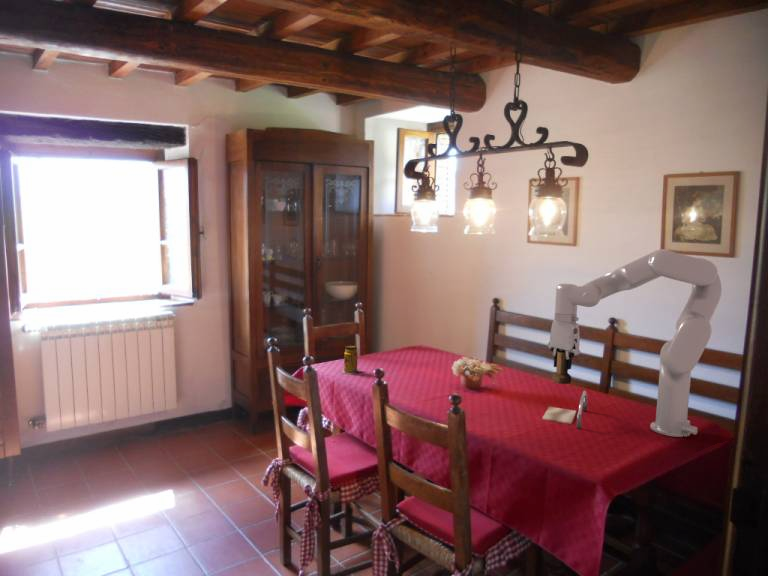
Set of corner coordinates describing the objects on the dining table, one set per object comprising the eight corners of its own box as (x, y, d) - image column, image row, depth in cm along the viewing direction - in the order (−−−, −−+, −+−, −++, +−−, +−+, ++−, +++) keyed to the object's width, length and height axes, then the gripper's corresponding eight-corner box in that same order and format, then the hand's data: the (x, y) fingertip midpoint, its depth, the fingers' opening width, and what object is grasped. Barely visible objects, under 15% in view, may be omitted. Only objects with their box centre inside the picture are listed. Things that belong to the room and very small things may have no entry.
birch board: (576, 412, 216) (576, 410, 216) (571, 423, 203) (571, 422, 203) (548, 408, 220) (548, 406, 220) (542, 419, 207) (542, 417, 207)
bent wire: (586, 410, 218) (588, 386, 217) (580, 429, 198) (582, 402, 197) (583, 410, 218) (584, 385, 217) (576, 428, 199) (577, 401, 198)
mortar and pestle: (548, 381, 210) (551, 332, 208) (557, 378, 215) (560, 330, 213) (565, 385, 205) (568, 335, 203) (574, 381, 210) (577, 333, 208)
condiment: (340, 371, 266) (340, 346, 265) (354, 368, 272) (354, 343, 270) (350, 375, 261) (350, 349, 259) (364, 372, 267) (364, 346, 265)
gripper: (591, 321, 202) (588, 372, 205) (553, 314, 216) (550, 361, 218) (577, 322, 198) (574, 374, 201) (540, 315, 212) (537, 364, 214)
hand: (562, 367), depth 209 cm, fingers closed on mortar and pestle, 3 cm apart
